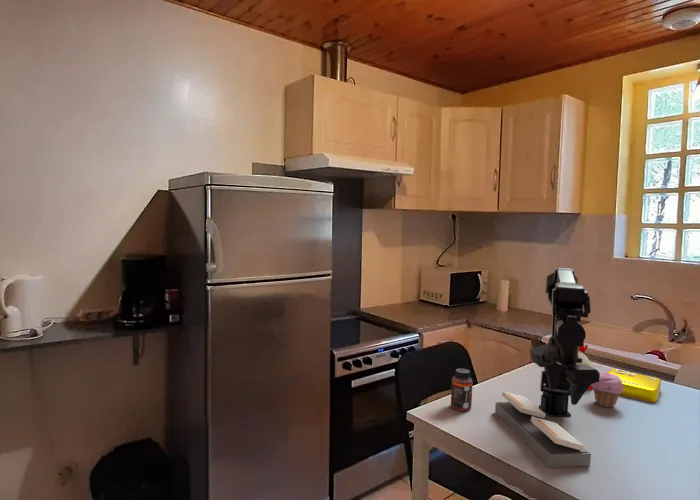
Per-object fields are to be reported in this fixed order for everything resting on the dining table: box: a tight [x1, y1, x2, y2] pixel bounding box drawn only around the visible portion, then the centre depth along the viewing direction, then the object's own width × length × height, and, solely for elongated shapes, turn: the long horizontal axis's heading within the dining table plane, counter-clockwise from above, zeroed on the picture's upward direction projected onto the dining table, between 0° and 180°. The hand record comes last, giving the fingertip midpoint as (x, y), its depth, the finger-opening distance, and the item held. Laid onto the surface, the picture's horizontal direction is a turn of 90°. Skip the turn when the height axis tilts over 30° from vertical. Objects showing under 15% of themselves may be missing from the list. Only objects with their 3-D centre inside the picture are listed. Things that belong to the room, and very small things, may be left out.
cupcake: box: [591, 371, 623, 408], centre depth 134 cm, size 9×9×10 cm
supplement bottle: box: [450, 368, 474, 412], centre depth 129 cm, size 6×6×11 cm
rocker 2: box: [530, 416, 585, 451], centre depth 105 cm, size 7×11×1 cm, turn 7°
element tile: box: [607, 368, 662, 403], centre depth 147 cm, size 15×15×5 cm
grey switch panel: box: [494, 401, 592, 469], centre depth 114 cm, size 10×28×3 cm, turn 6°
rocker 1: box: [501, 390, 547, 418], centre depth 121 cm, size 7×11×1 cm, turn 7°
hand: (562, 396), depth 110 cm, fingers open, 9 cm apart
